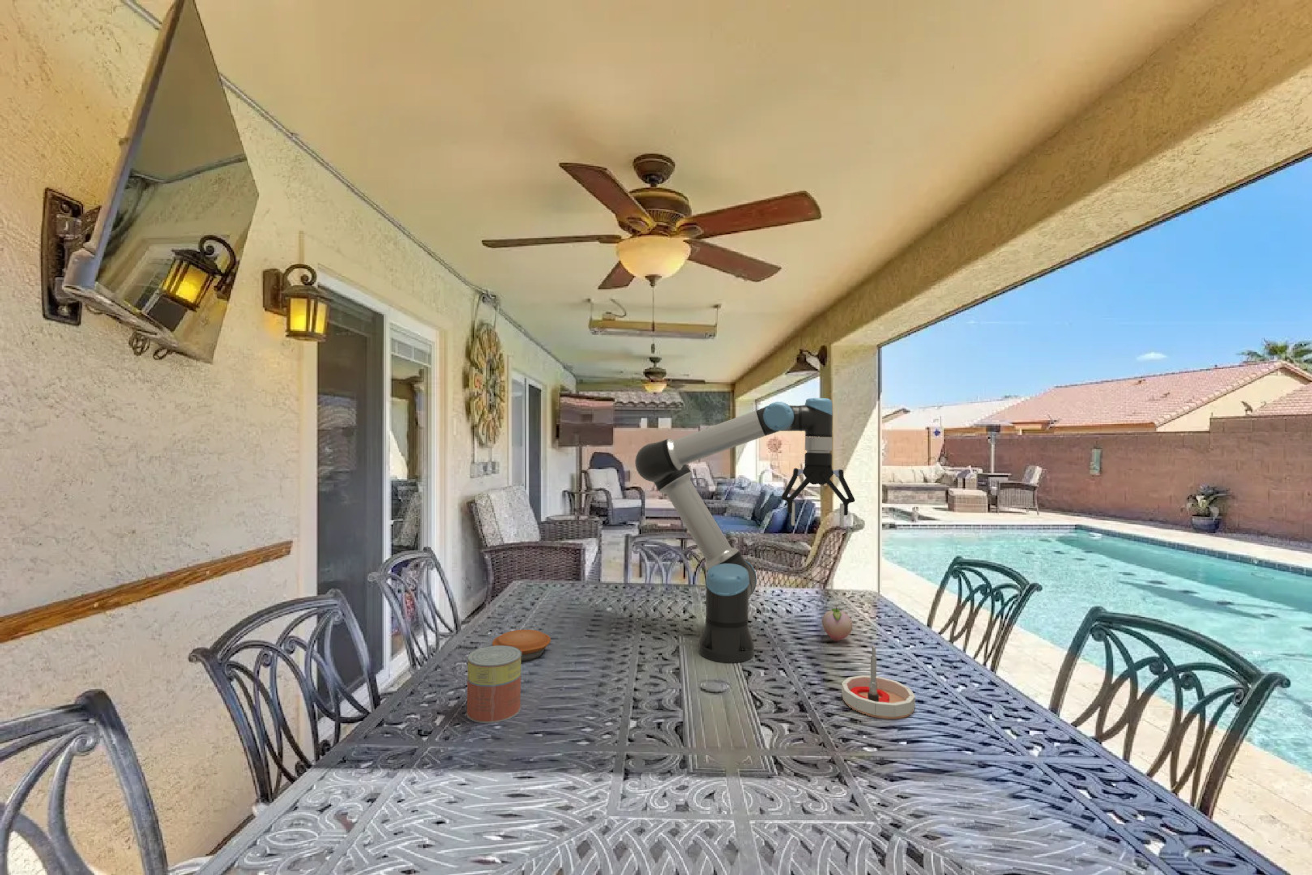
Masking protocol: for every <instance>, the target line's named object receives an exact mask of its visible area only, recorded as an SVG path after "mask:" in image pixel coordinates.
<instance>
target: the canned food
mask: <svg viewBox="0 0 1312 875" xmlns="http://www.w3.org/2000/svg"><path fill="white" fill-rule="evenodd" d="M521 655H522V652H521V651H520V650H519V649H518V648H515V647H512V646H504V645H497V646H493V645H490V646H484V647H481V648H477V649H475V650H473V651H471V652H470V653H469V654H468V655H467V658H466V660H467V680H466V681H467V684H466V686H467V687H466V688H467V689H466V696H467V697H466V712H465V713H466V717H467V718H468V719H469V720H470V721H472V722H476V723H479V724H480V723H482V724H494V723H500V722H505V721H507V720H510V719H512V718H514V717H515V716H517V715H519V713H520V712H521V709H522V708H521V707H522V706H521V692H522V690H521V689H522V684H521V683H522V680H521V679H522V678H521V677H522V661H521Z"/></svg>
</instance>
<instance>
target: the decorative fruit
mask: <svg viewBox="0 0 1312 875" xmlns="http://www.w3.org/2000/svg"><path fill="white" fill-rule="evenodd" d="M821 618H822V620H821V622H822V627H823V630H824V632H825V633H826V635H827V636H828V637H829V638H830V639H832V640H833V641H835V642H838V641H841V640H844V639H846V638H847V637H849V635H850V634H851V632H852V630H853V621H852V618H851V617H850V616H849V614H848V613H846V612H844V611H842V610H840V609H839V608H838V606H836V608H832V609H831V610H828V611H826V612H825V613H824V614H823V616H822V617H821Z"/></svg>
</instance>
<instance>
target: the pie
mask: <svg viewBox="0 0 1312 875" xmlns="http://www.w3.org/2000/svg"><path fill="white" fill-rule="evenodd" d="M551 641H552V639H551V637H550V635H549V634H547V633H544V632H542V631H540V630H539V631H538V630H535V629H516V630H510V631H507V632H504V633H502V634H501V635H498V636H496V637H495V638H494V639H493V641H492V642H491V646H497V645H504V646H512V647H515V648H518V649H519V650H520V651H521V652H522V655H521V662H526V661H531V660H534V659H537V658H539V657H540V656H541V655H542V654H543V653H544V651H545V649H546V648H547V647H548V645H549V644H550V643H551Z"/></svg>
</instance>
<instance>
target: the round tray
mask: <svg viewBox="0 0 1312 875" xmlns="http://www.w3.org/2000/svg"><path fill="white" fill-rule="evenodd" d="M870 681H871V675H863V674H862V675H854V676H849V677H847V678H846V679H845V680H843V682H842V681H841V696H842V701H843V700H844V701H845V703H846V704H847V705H848V706H850V707H851V708H852V709H851V708H850V707H849V708H850V709H851V710H852V711H855V710H856V711H855V712H857V711H858V712H857V713H859V712H860V713H859V714H861V713H862V715H864V714H866V715H865V716H867V715H868V716H867V717H871V718H876V719H881V718H884V720H900V719H904V718H905V719H906V718H908V717H911V716H912V715H913V713H914V710H915V709H916V695H915V693H914V692H913V690H912V689H911V688H910V687H908V686H906V685H904V684H903V683H901V682H899V681H896V680H892V679H890V678H886V677H882V676H877V675H876V682H877V689H879V690H882V691H884V692H886V693H887V694H888V695H889V696H890V699H889V703H886V702H875V701H872V700H869V699H868V692H859V693H858V694H859V695H861V696H864V697H866V698H867V699H865V698H862V697H859V696H858V695H856V694H854V693H853V692H851V689H852V688H854V687H869V682H870ZM879 698H881V696H880V695H879ZM844 701H843V702H844ZM845 703H844V704H845ZM846 704H845V705H846ZM847 705H846V706H847ZM848 706H847V707H848Z"/></svg>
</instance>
